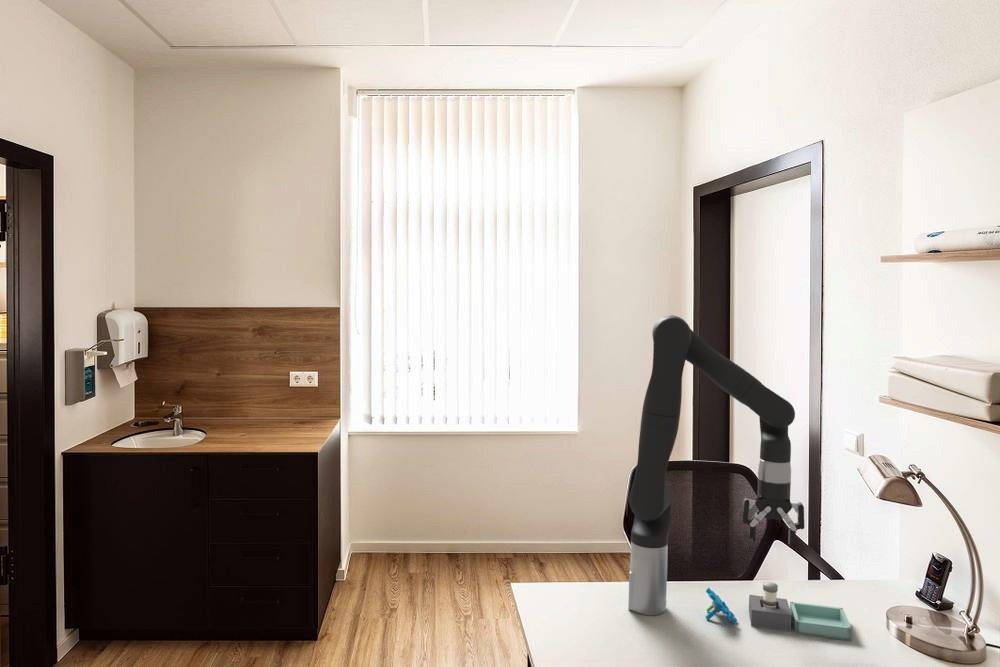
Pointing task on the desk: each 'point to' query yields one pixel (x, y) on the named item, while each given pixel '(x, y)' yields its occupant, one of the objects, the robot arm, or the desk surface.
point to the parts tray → (820, 621)
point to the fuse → (770, 594)
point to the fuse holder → (769, 614)
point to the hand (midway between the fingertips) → (771, 542)
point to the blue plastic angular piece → (718, 607)
